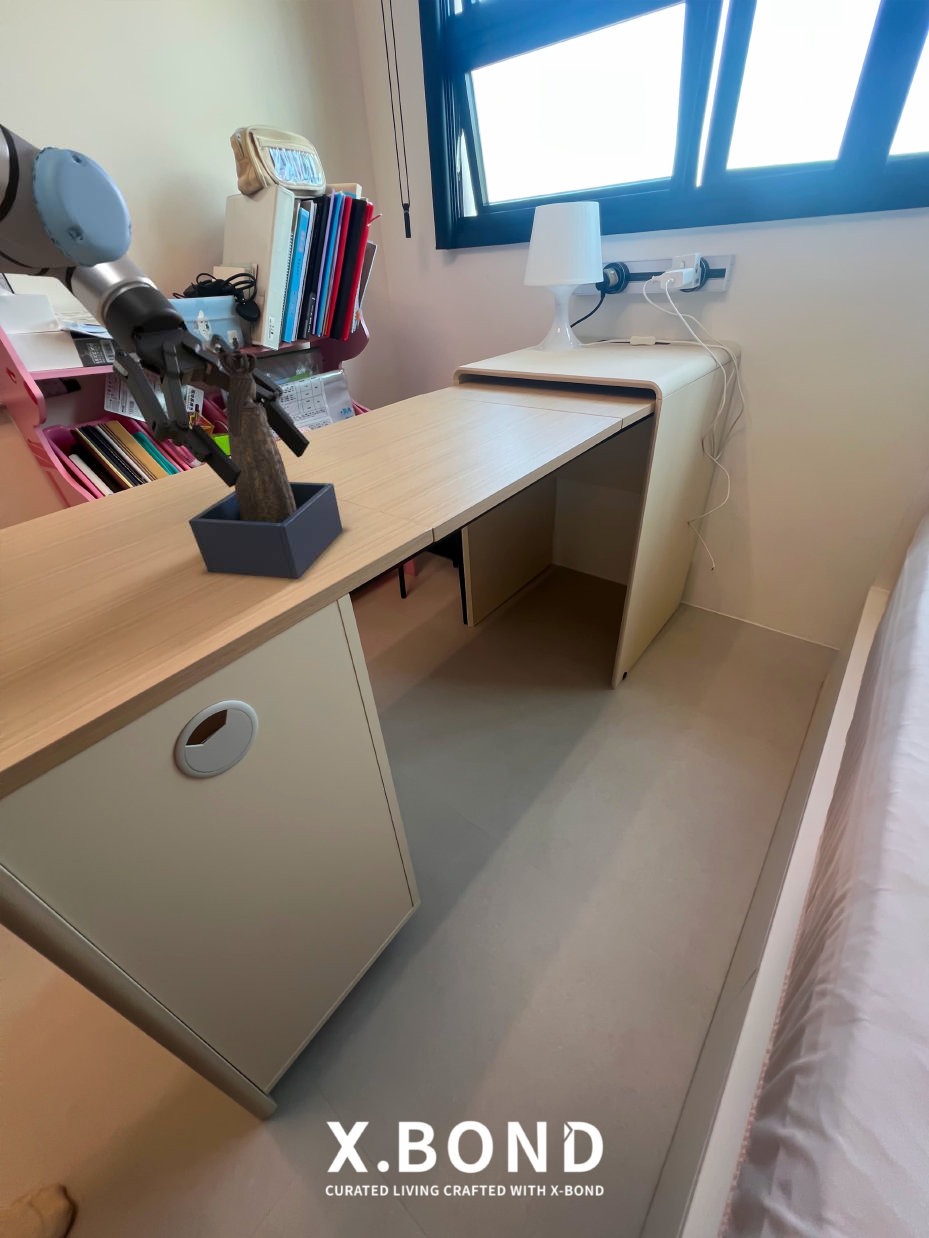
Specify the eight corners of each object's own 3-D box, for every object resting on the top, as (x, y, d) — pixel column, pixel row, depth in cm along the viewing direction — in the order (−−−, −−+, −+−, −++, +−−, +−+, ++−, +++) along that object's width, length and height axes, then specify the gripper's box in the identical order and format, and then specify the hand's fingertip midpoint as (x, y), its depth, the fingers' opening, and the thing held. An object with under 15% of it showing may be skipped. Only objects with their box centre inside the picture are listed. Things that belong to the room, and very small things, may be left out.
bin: (207, 571, 64) (187, 520, 60) (263, 526, 75) (250, 480, 71) (298, 579, 61) (284, 526, 57) (342, 530, 72) (333, 483, 68)
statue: (316, 537, 71) (269, 334, 56) (299, 564, 65) (241, 343, 50) (257, 538, 71) (195, 337, 57) (234, 564, 65) (158, 347, 51)
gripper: (207, 326, 68) (322, 455, 71) (24, 352, 51) (182, 518, 54) (223, 277, 63) (345, 418, 66) (24, 289, 46) (199, 476, 49)
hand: (271, 463), depth 60 cm, fingers open, 10 cm apart
